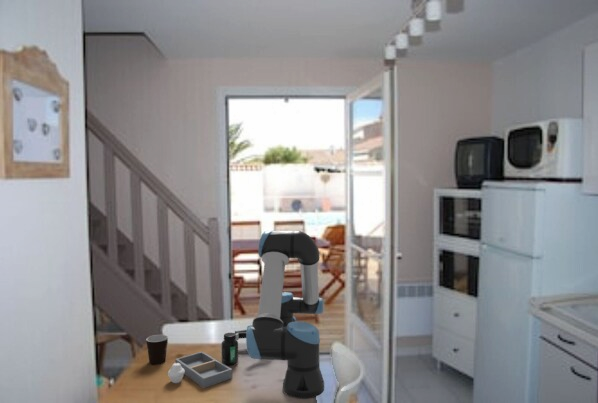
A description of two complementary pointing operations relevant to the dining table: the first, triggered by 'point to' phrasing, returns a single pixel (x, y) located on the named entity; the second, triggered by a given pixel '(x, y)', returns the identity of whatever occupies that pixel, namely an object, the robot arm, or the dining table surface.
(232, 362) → the supplement bottle
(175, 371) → the white lumpy chunk
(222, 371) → the caddy
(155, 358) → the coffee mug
